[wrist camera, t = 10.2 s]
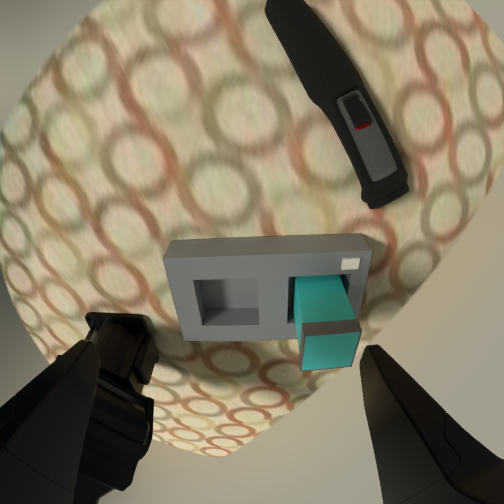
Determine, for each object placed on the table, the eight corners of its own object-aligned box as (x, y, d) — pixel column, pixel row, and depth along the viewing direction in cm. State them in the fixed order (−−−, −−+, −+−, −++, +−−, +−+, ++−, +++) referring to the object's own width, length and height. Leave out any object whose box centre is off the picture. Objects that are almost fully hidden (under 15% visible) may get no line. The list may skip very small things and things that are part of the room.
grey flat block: (189, 320, 26) (184, 342, 23) (171, 240, 21) (162, 259, 19) (347, 314, 25) (355, 336, 23) (361, 233, 21) (373, 252, 19)
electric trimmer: (301, -9, 13) (308, -26, 10) (405, 185, 19) (426, 201, 16) (249, 14, 14) (248, -1, 11) (363, 208, 20) (378, 227, 18)
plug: (290, 301, 24) (300, 371, 18) (292, 266, 22) (304, 335, 16) (331, 299, 24) (351, 366, 18) (336, 264, 22) (362, 330, 16)
